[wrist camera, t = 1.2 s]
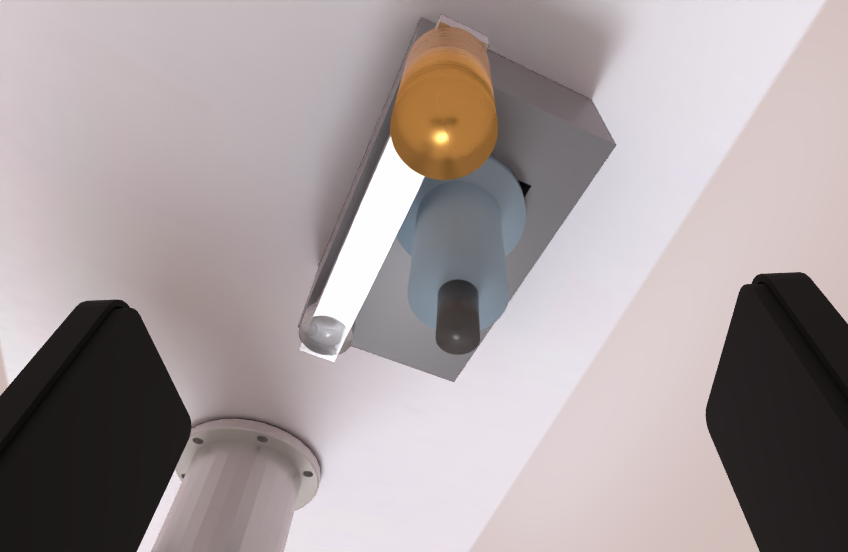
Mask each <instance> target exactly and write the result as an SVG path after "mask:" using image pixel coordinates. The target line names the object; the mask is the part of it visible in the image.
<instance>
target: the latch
mask: <svg viewBox="0 0 848 552" xmlns="http://www.w3.org/2000/svg"><path fill="white" fill-rule="evenodd" d="M488 46H489V41H488V37H487V36H485V35H483V34H481V33H479V32H477V31H475V30H473V29H471V28H469V27H467V26H465V25H463V24H461V23H458V22H456V21H454V20H452V19H450V18H448V17H446V16H444V15H442V14H441V15H440V17H439V20H438V22H437V24H436V27H435V29H432V30H430V31H428V32H426V33H425V34H423V35H422V36H421V37H420V38H419V39H418V40H417V41H416V42H415V43H414V45H413V46H412V48H411V49H410V52H409V54H408V57H407V60H406V64H405V68H404V71H403V75H402V79H401V83H400V86H399V90H398V94H397V98H396V101H395V105H394V109H393V113H392V117H391V122H390V134H389V137H388V139H387V141H386V144H385V146H384V148H383V151H382V153H381V155H380V158H379V160H378V162H377V165H376V167H375V169H374V172H373V174H372V176H371V179H370V181H369V183H368V186H367V188H366V190H365V193H364V195H363V197H362V200H361V202H360V204H359V207H358V209H357V211H356V214H355V216H354V218H353V221H352V223H351V225H350V228H349V230H348V232H347V235H346V237H345V239H344V242H343V244H342V246H341V249H340V251H339V253H338V256H337V258H336V260H335V263H334V265H333V268H332V270H331V272H330V275H329V277H328V279H327V282H326V284H325V286H324V289H323V291H322V293H321V296H320V298H319V300H318V302H317V303H314V304H312V305H311V306H310V307H308V309H307V310H306V312H305V314H304V317H303V320H302V323H301V326H300V329H299V337H300V339H301V341H302V342H301V345H300V348H299V350H300V351H303V352H306V353H309V354H312V355H315V356H318V357H320V358H323V359H326V360H329V361H332V362H334V361H335V359H336V357H337V355H338V354H341V353H343V352H345V351H346V350H347V349H348V348H349V347H350V345H351V343H352V339H353V335H354V330H355V325H356V322H355V318H356V316H357V314H358V312H359V310H360V308H361V306H362V304H363V302H364V300H365V298H366V296H367V294H368V292H369V290H370V287H371V285H372V283H373V281H374V279H375V277H376V275H377V273H378V271H379V269H380V267H381V265H382V263H383V261H384V259H385V257H386V255H387V253H388V251H389V249H390V247H391V245H392V243H393V240H394V238H395V236H396V234H397V232H398V230H399V228H400V226H401V224H402V222H403V220H404V218H405V216H406V214H407V212H408V210H409V208H410V206H411V204H412V202H413V200H414V198H415V195H416V193H417V191H418V189H419V187H420V185H421V183H422V181H423V179H424V177H428V178H432V179H438V180H450V179H456V178H460V177H463V176H466V175H468V174H470V173H472V172H474V171H475V170H476V169H478V168H479V167H480V166H481V165H482V164H483V163H484V162H485V161H486V160H487V159H488V157H489V156H490V154H491V153H492V151H493V149H494V146H495V143H496V140H497V134H498V122H497V115H496V108H495V100H494V93H493V86H492V79H491V72H490V65H489V59H488V55H487V53H486V50H487V48H488Z"/></svg>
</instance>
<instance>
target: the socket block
mask: <svg viewBox="0 0 848 552" xmlns="http://www.w3.org/2000/svg"><path fill="white" fill-rule="evenodd" d="M435 27H436V24H434V23H432V22H430V21H428V20H425V19H423V18H420V21H419V23H418V26H417V28H416V31H415V33H414V36H413V38H412V40H411V43H410V45H409V48H408V50H407V53H406V55H405V58H404V60H403V62H402V65H401V67H400V70H399V72H398V75H397V77H396V80H395V82H394V84H393V87H392V89H391V92H390V94H389V97H388V99H387V102H386V104H385V106H384V109H383V111H382V114H381V116H380V119H379V121H378V123H377V126H376V128H375V131H374V133H373V136H372V138H371V141H370V143H369V145H368V148H367V150H366V153H365V155H364V158H363V160H362V163H361V165H360V167H359V170H358V172H357V175H356V177H355V180H354V182H353V185H352V187H351V189H350V192H349V194H348V197H347V199H346V202H345V204H344V206H343V209H342V211H341V214H340V216H339V219H338V221H337V224H336V226H335V228H334V231H333V233H332V236H331V238H330V241H329V243H328V246H327V248H326V250H325V253H324V255H323V258H322V260H321V263H320V265H319V268H318V270H317V273H316V276H315V279H314V282H313V285H312V288H311V291H310V293H309V296H308V299H307V302H306V305H305V308H304V311H303V314H302V317H301V319H300V322H299V325H298V327H299V328H300V326H301V323H302V320H303V317H304V314H305V312H306V310H307V309H308V307H310V306H311V305H312V304H314V303H317V302H318V300H319V298H320V296H321V293H322V291H323V289H324V286H325V284H326V282H327V279H328V277H329V275H330V272H331V270H332V268H333V265H334V263H335V260H336V258H337V256H338V253H339V251H340V249H341V246H342V244H343V242H344V239H345V237H346V235H347V232H348V230H349V228H350V225H351V223H352V221H353V218H354V216H355V214H356V211H357V209H358V207H359V204H360V202H361V200H362V197H363V195H364V193H365V190H366V188H367V186H368V183H369V181H370V179H371V176H372V174H373V172H374V169H375V167H376V165H377V162H378V160H379V158H380V155H381V153H382V151H383V148H384V146H385V144H386V141H387V139H388V137H389V134H390V122H391V117H392V113H393V109H394V105H395V101H396V98H397V94H398V90H399V86H400V83H401V79H402V75H403V71H404V68H405V64H406V60H407V57H408V54H409V52H410V49H411V48H412V46H413V45H414V43H415V42H416V41H417V40H418V39H419V38H420V37H421V36H422V35H423V34H425V33H426V32H428V31H430V30H432V29H435ZM486 53H487V55H488V59H489V65H490V72H491V79H492V86H493V93H494V100H495V108H496V115H497V122H498V134H497V140H496V143H495V146H494V149H493V151H492V153H491V154H490V155H492V156H494V157H496V158H498V159H499V160H501V161H502V162H503V163H504V164H506V165H507V166H508V167H509V168H510V169H511V171H512V172H513V173H514V174H515V176H516V178H517V179H518V181H519V183H520V186H521V188H522V192H523V196H524V201H525V206H526V223H525V228H524V231H523V234H522V236H521V238H520V240H519V242H518V244H517V245H516V246H515V248H514V249H513V250H512V251H511V252H510V253H509V254H508V255H507V256H506V257H505V259H506V268H507V277H508V286H509V301H510V300H511V298H512V297H513V295H514V294H515V292H516V291H517V289H518V288H519V286H520V285H521V283H522V282H523V281H524V279H525V278H526V276H527V275H528V273H529V272H530V270H531V269H532V267H533V266H534V264H535V263H536V262H537V260H538V259H539V257H540V256H541V254H542V253H543V251H544V250H545V248H546V247H547V245H548V244H549V243H550V241H551V240H552V238H553V237H554V235H555V234H556V232H557V231H558V229H559V228H560V227H561V225H562V224H563V222H564V221H565V219H566V218H567V216H568V215H569V213H570V212H571V210H572V209H573V208H574V206H575V205H576V203H577V202H578V200H579V199H580V197H581V196H582V194H583V193H584V191H585V190H586V189H587V187H588V186H589V184H590V183H591V181H592V180H593V178H594V177H595V175H596V174H597V172H598V171H599V170H600V168H601V167H602V165H603V164H604V162H605V161H606V159H607V158H608V156H609V155H610V153H611V152H612V151H613V149H614V148H615V146H616V143H615V142H614V140H613V138H612V136H611V134H610V132H609V131H608V129H607V127H606V125H605V123H604V121H603V120H602V118H601V116H600V114H599V112H598V110H597V108H596V107H595V105H594V103H593V101H592V100H591V99H589V98H587V97H585V96H583V95H580V94H578V93H576V92H574V91H572V90H570V89H568V88H566V87H564V86H562V85H560V84H558V83H556V82H554V81H552V80H549V79H547V78H545V77H543V76H541V75H539V74H537V73H535V72H533V71H531V70H529V69H527V68H525V67H523V66H521V65H518V64H516V63H514V62H512V61H510V60H508V59H506V58H504V57H502V56H500V55H498V54H496V53H494V52H492V51H490V50H486ZM411 258H412V257H411V256H410V255H409V254H408V253H407V252H406V251H405V250H404V248H403V247H402V246H401V244H400V243H399V241H398V239H397V237H396V236H395V238H394V240H393V243H392V245H391V247H390V249H389V251H388V253H387V255H386V257H385V259H384V261H383V263H382V265H381V267H380V269H379V271H378V273H377V275H376V277H375V279H374V281H373V283H372V285H371V287H370V290H369V292H368V294H367V296H366V298H365V300H364V302H363V304H362V306H361V308H360V310H359V312H358V314H357V316H356V318H355V322H356V325H355V330H354V335H353V339H352V343H351V345H350V346H353V347H356V348H359V349H361V350H364V351H367V352H370V353H373V354H376V355H378V356H381V357H384V358H387V359H390V360H393V361H395V362H398V363H401V364H404V365H407V366H410V367H412V368H415V369H418V370H421V371H424V372H427V373H430V374H432V375H435V376H438V377H441V378H444V379H447V380H449V381H452V382H454V381H455V380H456V378H457V377H458V375H459V374H460V373H461V371H462V370H463V368H464V367H465V365H466V364H467V362H468V361H469V359H470V358H471V356H472V355H473V354H474V352H475V351H476V349H477V348H478V346H479V345H480V343H481V342H482V340H483V339H484V337H485V336H486V335H487V333H488V332H489V330H490V329H491V327H492V326H493V324H494V323H495V322H494V323H493V324H492V325H490V326H488V327H486V328H484V329H482V330H480V342H479V345H478V346H477V347H476V348H475V349H474V350H473V351H471V352H469V353H467V354H463V355H454V354H449V353H447V352H445V351H443V350H442V349H441V348H440V347H439V346H438V345H437V343H436V330H435V329H433V328H431V327H429V326H427V325H425V324H424V323H423V322H421V321H420V320H419V319H418V318H417V317H416V315H415V314H414V313H413V311H412V309H411V307H410V305H409V302H408V295H407V292H408V283H409V274H410V266H411ZM509 301H508V302H509Z"/></svg>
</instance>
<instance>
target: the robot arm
mask: <svg viewBox="0 0 848 552" xmlns="http://www.w3.org/2000/svg"><path fill="white" fill-rule="evenodd" d="M706 422H707V427H708V430H709V433H710V435H711V438H712V440H713V442H714V445H715V447H716V449H717V452H718V454H719V456H720V459H721V461H722V464H723V466H724V468H725V470H726V473H727V475H728V478H729V480H730V482H731V485H732V487H733V490H734V492H735V494H736V497H737V499H738V501H739V503H740V506H741V508H742V511H743V513H744V515H745V518H746V520H747V522H748V524H749V527H750V530H751V532H752V534H753V537H754V539H755V541H756V544H757V546H758V548H759V551H760V552H848V324H847V323H846V321H845V320H844V319H843V318H842V317H841V315H840V314H839V313H838V312H837V310H836V309H835V308H834V307H833V305H832V304H831V303H830V302H829V301H828V299H827V298H826V297H825V296H824V294H823V293H822V292H821V291H820V289H819V288H818V287H817V286H816V285H815V284H814V282H813V281H812V280H811V278H810V277H808V276H807V275H806V274H804V273H801V272H795V273H771V274H759V275H757V276H756V277H755V278H754V279H753V282H752V284H746V285H743V287H742V288H741V289H740V292H739V295H738V298H737V302H736V305H735V309H734V312H733V316H732V319H731V323H730V326H729V330H728V333H727V337H726V340H725V344H724V347H723V351H722V354H721V358H720V361H719V365H718V368H717V371H716V375H715V378H714V382H713V385H712V389H711V393H710V396H709V399H708V403H707V407H706ZM174 470H176V473H177V475H178V476H179V478H180V479H181V481H182V483H181V486H180V488H179V490H178V492H177V495H176V497H175V499H174V501H173V504H172V506H171V508H170V510H169V512H168V515H167V517H166V519H165V521H164V524H163V526H162V528H161V530H160V533H159V535H158V537H157V539H156V542H155V544H154V546H153V548H152V551H151V552H284V549H285V545H286V541H287V537H288V533H289V529H290V525H291V521H292V517H293V513H294V511H295V510H298V509H300V508H302V507H304V506H305V505H306V504H308V503H309V502H310V501H311V500H312V499H313V498H314V496H315V495H316V493H317V490H318V487H319V482H320V477H321V473H320V466H319V464H318V461H317V459H316V457H315V456H314V455H313V453H312V452H311V451H310V449H309V448H307V447H306V446H305V445H304V444H303V443H302V442H301V441H300V440H298V439H297V438H295V437H294V436H292V435H291V434H289V433H287V432H285V431H283V430H281V429H279V428H277V427H274V426H271V425H268V424H265V423H261V422H256V421H252V420H244V419H220V420H215V421H209V422H206V423H203V424H200V425H198V426H196V427H194V428H192V429H191V419H190V416H189V414H188V412H187V410H186V408H185V406H184V404H183V402H182V400H181V398H180V396H179V394H178V392H177V390H176V388H175V386H174V384H173V382H172V379H171V377H170V375H169V373H168V371H167V369H166V367H165V365H164V363H163V361H162V359H161V357H160V355H159V353H158V351H157V349H156V347H155V345H154V343H153V341H152V339H151V337H150V335H149V333H148V331H147V329H146V327H145V325H144V323H143V320H142V318H141V316H140V315H139V313H138V312H137V311H136V310H135V309H133V308H130V307H129V306H128V304H127V303H125V302H124V301H122V300H97V301H85V302H81V303H80V304H79V305H78V306H76V308H75V309H74V310H73V311H72V312H71V313H70V315H69V316H68V317H67V318H66V319H65V320H64V322H63V323H62V324H61V325H60V326H59V328H58V329H57V330H56V331H55V332H54V333H53V335H52V336H51V337H50V338H49V339H48V340H47V342H46V343H45V344H44V345H43V346H42V348H41V349H40V350H39V351H38V352H37V353H36V355H35V356H34V357H33V358H32V359H31V360H30V362H29V363H28V364H27V365H26V366H25V368H24V369H23V370H22V371H21V372H20V373H19V375H18V376H17V377H16V378H15V379H14V381H13V382H12V383H11V384H10V385H9V386H8V388H7V389H6V390H5V391H4V393H2V395H1V396H0V552H137V550H138V547H139V545H140V543H141V541H142V539H143V537H144V535H145V532H146V530H147V528H148V526H149V524H150V522H151V520H152V517H153V515H154V513H155V511H156V509H157V507H158V505H159V502H160V500H161V498H162V496H163V494H164V492H165V490H166V487H167V485H168V483H169V481H170V479H171V477H172V475H173V472H174Z"/></svg>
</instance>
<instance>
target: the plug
mask: <svg viewBox="0 0 848 552" xmlns="http://www.w3.org/2000/svg"><path fill="white" fill-rule="evenodd" d="M525 223H526V206H525V201H524V196H523V192H522V188H521V186H520V183H519V181H518V179H517V178H516V176H515V174H514V173H513V172H512V171H511V169H510V168H509V167H508V166H507V165H506V164H504V163H503V162H502V161H501V160H499V159H498V158H496V157H494V156H492V155H490V156H489V157H488V159H487V160H486V161H485V162H484V163H483V164H482V165H481V166H480V167H479V168H478V169H476V170H475V171H474V172H472V173H470V174H468V175H466V176H463V177H460V178H456V179H450V180H438V179H432V178H428V177H424V179H423V181H422V183H421V185H420V187H419V189H418V191H417V193H416V195H415V198H414V200H413V202H412V204H411V206H410V208H409V210H408V212H407V214H406V216H405V218H404V220H403V222H402V224H401V226H400V228H399V230H398V232H397V234H396V237H397V239H398V241H399V243H400V244H401V246H402V247H403V248H404V250H405V251H406V252H407V253H408V254H409V255H410V256H411V257H412V258H411V266H410V274H409V283H408V292H407V295H408V302H409V305H410V307H411V309H412V311H413V313H414V314H415V315H416V317H417V318H418V319H419V320H420V321H421V322H423V323H424V324H425V325H427V326H429V327H431V328H433V329H435V330H436V343H437V345H438V346H439V347H440V348H441V349H442V350H443V351H445V352H447V353H449V354H454V355H463V354H467V353H469V352H471V351H473V350H474V349H475V348H476V347H477V346H478V345H479V342H480V330H482V329H484V328H486V327H488V326H490V325H492V324H493V323H494V322H496V321H497V320H498V319H499V318H500V317H501V315H502V314H503V313H504V311H505V309H506V307H507V304H508V301H509V286H508V277H507V268H506V259H505V257H506V256H507V255H508V254H509V253H510V252H511V251H512V250H513V249H514V248H515V246H516V245H517V244H518V242H519V240H520V238H521V236H522V234H523V231H524V228H525Z"/></svg>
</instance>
